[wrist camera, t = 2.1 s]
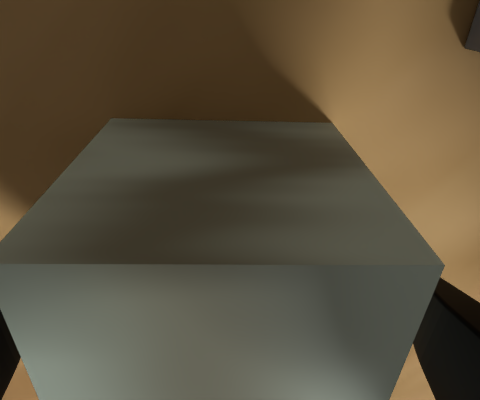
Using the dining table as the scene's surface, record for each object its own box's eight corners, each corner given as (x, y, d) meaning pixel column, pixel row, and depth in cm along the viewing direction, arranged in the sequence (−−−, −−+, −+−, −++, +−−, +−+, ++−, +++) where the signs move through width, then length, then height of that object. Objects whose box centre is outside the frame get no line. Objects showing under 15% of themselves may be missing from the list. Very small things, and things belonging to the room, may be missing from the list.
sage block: (331, 122, 10) (444, 265, 5) (304, 283, 13) (356, 477, 8) (112, 117, 10) (-19, 264, 5) (136, 283, 13) (75, 484, 8)
